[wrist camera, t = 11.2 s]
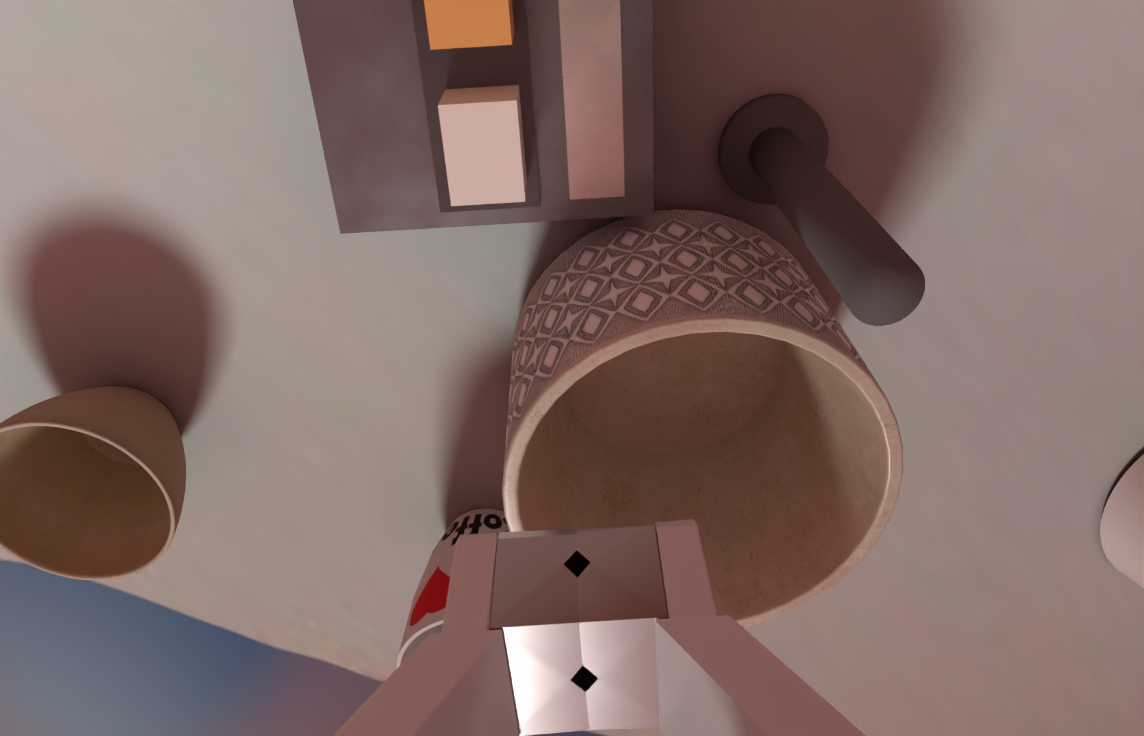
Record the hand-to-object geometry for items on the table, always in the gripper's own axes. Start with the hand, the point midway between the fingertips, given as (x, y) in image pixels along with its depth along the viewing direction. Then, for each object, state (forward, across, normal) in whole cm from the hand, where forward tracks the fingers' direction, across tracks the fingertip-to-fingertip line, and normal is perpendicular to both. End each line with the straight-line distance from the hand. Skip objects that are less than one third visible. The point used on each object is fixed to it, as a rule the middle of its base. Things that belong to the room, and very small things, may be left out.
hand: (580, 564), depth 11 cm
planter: (+32, -4, +15) cm, 36 cm away
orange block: (+27, +3, -4) cm, 28 cm away
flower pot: (+32, +26, +17) cm, 44 cm away
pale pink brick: (+27, +3, +2) cm, 28 cm away
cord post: (+32, -10, +4) cm, 33 cm away
